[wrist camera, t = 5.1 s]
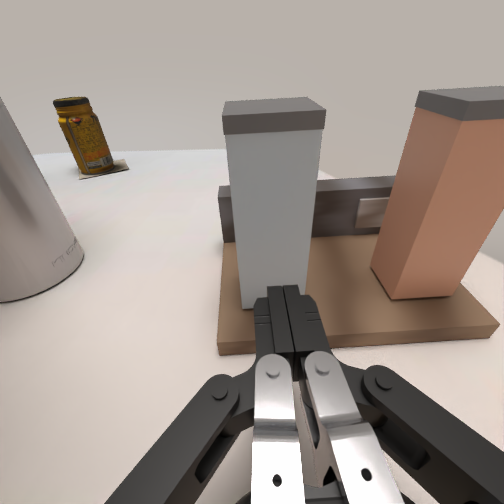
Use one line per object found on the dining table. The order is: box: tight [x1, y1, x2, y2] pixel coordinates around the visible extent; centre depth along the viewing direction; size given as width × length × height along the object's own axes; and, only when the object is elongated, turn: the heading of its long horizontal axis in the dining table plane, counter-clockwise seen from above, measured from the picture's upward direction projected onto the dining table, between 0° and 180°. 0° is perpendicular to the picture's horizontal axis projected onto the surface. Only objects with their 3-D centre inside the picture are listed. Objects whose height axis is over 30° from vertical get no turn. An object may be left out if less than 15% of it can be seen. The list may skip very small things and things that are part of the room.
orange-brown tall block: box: [370, 86, 504, 299], centre depth 17 cm, size 5×4×13 cm
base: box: [217, 176, 500, 355], centre depth 22 cm, size 19×14×6 cm
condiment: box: [53, 97, 129, 179], centre depth 47 cm, size 7×8×12 cm
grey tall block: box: [222, 97, 326, 309], centre depth 17 cm, size 5×4×13 cm
